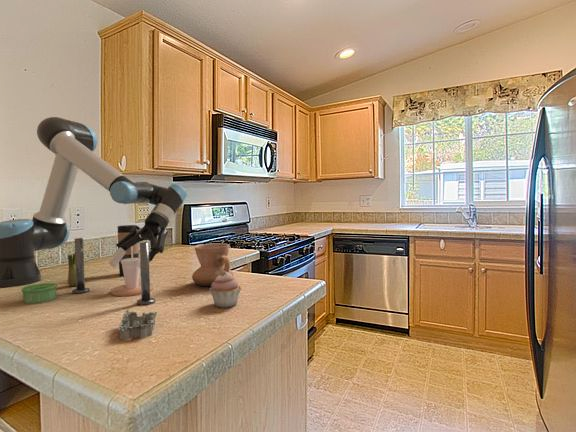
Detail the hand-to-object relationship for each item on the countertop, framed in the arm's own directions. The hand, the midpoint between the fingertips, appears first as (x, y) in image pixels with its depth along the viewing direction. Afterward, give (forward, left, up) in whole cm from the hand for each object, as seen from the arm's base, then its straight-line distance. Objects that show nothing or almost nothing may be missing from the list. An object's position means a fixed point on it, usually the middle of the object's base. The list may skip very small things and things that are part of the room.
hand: (125, 266), depth 114 cm
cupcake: (+38, +2, -9) cm, 39 cm away
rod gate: (0, -6, -9) cm, 10 cm away
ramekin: (-18, -17, -9) cm, 26 cm away
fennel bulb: (-25, -1, -9) cm, 27 cm away
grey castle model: (+31, -22, -9) cm, 39 cm away
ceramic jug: (+20, +20, -9) cm, 30 cm away
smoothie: (0, +2, -8) cm, 8 cm away
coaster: (0, +2, -9) cm, 9 cm away
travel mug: (-23, +20, -9) cm, 32 cm away
